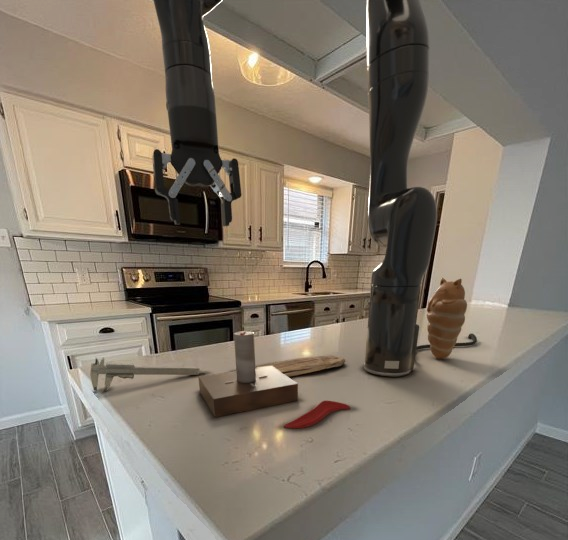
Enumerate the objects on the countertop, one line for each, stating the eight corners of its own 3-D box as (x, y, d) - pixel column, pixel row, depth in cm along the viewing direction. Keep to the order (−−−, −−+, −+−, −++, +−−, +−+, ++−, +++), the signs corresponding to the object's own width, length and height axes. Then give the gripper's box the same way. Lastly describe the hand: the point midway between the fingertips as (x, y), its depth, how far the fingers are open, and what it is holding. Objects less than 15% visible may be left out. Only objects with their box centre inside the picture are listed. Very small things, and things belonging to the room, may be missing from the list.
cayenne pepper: (342, 403, 53) (343, 392, 52) (359, 414, 49) (360, 402, 48) (274, 417, 48) (274, 405, 47) (287, 431, 44) (287, 418, 43)
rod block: (271, 379, 63) (271, 364, 62) (298, 400, 54) (298, 382, 53) (200, 392, 58) (198, 375, 56) (215, 417, 48) (213, 398, 47)
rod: (238, 376, 56) (236, 329, 53) (257, 376, 56) (255, 329, 53) (235, 382, 53) (231, 333, 50) (254, 383, 53) (252, 333, 50)
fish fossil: (242, 387, 59) (241, 381, 59) (225, 375, 68) (224, 370, 68) (352, 363, 70) (352, 358, 70) (325, 356, 79) (325, 351, 79)
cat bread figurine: (413, 355, 78) (423, 277, 72) (438, 352, 81) (450, 276, 74) (441, 365, 70) (455, 279, 64) (468, 361, 73) (484, 278, 67)
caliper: (94, 393, 58) (86, 359, 56) (94, 391, 59) (86, 358, 56) (205, 373, 67) (202, 344, 65) (204, 372, 68) (201, 343, 66)
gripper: (145, 94, 45) (162, 221, 51) (242, 111, 51) (247, 224, 57) (143, 115, 52) (158, 226, 57) (228, 128, 57) (235, 228, 63)
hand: (202, 225), depth 57 cm, fingers open, 8 cm apart
